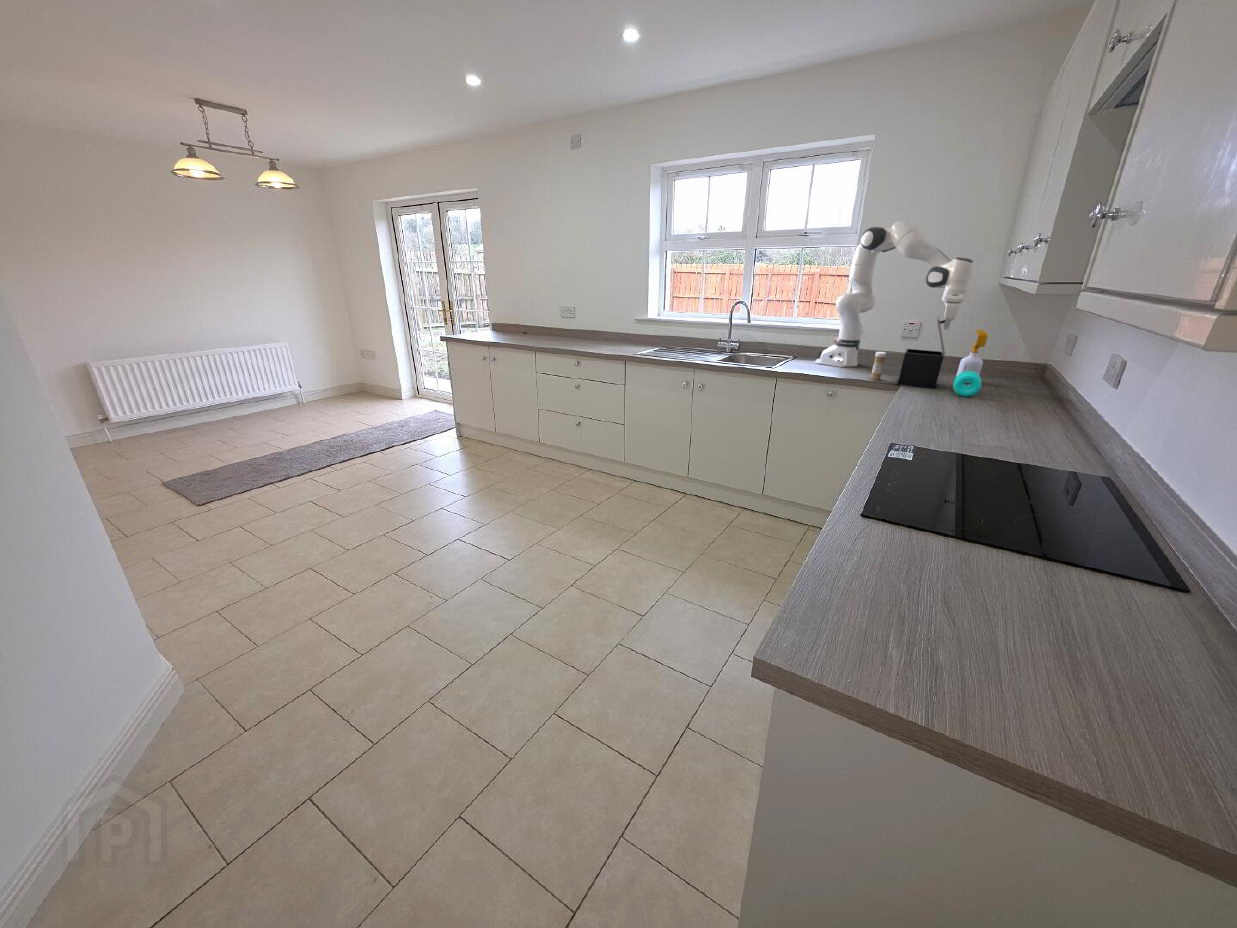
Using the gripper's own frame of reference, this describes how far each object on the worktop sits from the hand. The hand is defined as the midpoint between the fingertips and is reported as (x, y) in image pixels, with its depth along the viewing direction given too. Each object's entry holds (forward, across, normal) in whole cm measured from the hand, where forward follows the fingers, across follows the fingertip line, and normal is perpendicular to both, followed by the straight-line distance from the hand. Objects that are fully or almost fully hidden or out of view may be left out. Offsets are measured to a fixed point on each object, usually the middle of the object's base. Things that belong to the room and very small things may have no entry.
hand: (945, 328), depth 222 cm
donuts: (+27, +11, +13) cm, 32 cm away
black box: (+27, 0, -6) cm, 27 cm away
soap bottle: (+27, -19, +15) cm, 36 cm away
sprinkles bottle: (+27, 0, -24) cm, 36 cm away
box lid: (+3, 0, -1) cm, 4 cm away
